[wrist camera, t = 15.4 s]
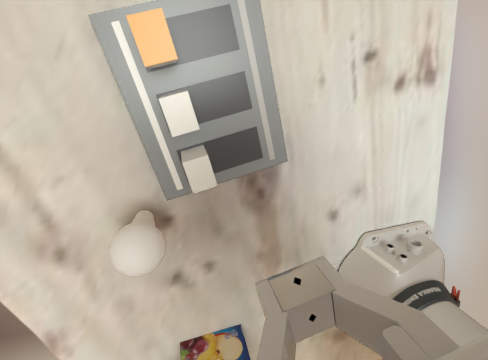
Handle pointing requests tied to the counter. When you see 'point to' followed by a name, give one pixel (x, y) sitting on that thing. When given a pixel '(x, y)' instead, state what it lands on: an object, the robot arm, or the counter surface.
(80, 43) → the counter surface
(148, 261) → the lightbulb
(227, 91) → the panel
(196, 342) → the juice carton
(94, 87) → the counter surface
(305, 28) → the counter surface
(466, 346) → the robot arm
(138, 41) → the block
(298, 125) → the counter surface
